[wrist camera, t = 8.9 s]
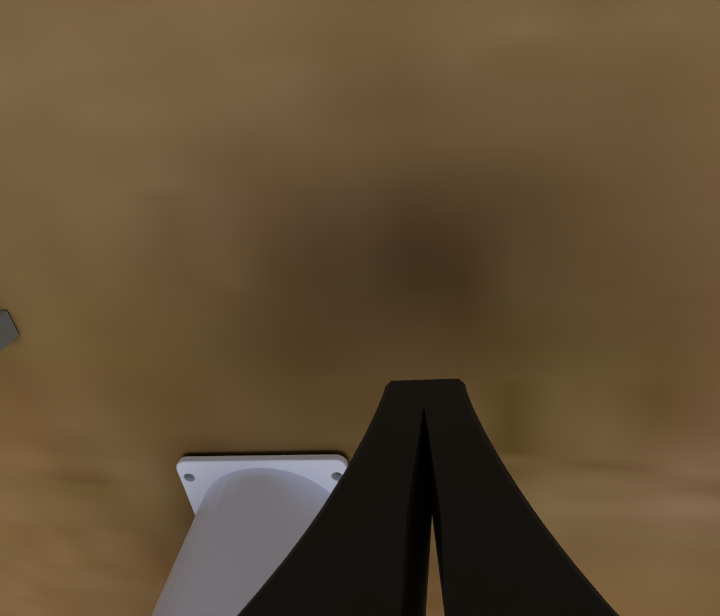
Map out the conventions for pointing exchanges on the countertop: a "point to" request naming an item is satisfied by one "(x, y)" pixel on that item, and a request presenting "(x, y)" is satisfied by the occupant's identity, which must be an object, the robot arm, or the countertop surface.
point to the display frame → (6, 330)
